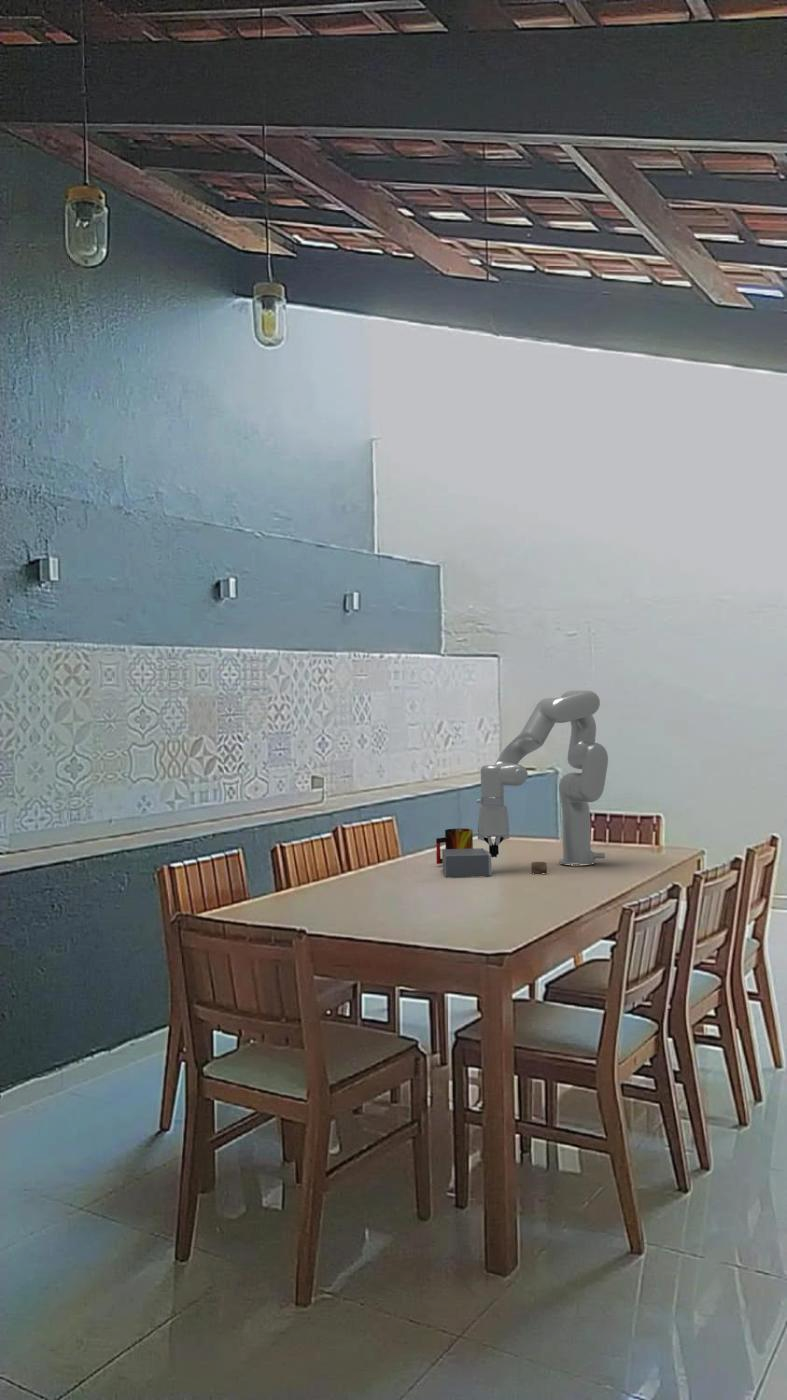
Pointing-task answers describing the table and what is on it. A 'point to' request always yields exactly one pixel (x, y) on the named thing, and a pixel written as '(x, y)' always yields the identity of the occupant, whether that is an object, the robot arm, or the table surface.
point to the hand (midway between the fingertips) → (494, 856)
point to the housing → (465, 862)
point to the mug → (455, 840)
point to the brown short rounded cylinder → (539, 867)
